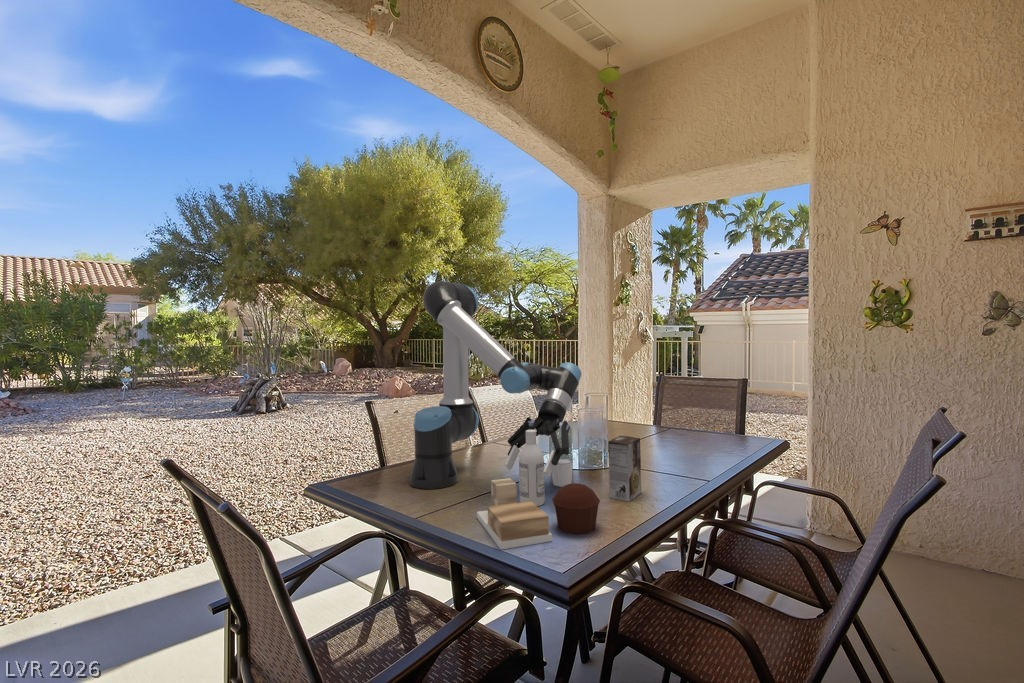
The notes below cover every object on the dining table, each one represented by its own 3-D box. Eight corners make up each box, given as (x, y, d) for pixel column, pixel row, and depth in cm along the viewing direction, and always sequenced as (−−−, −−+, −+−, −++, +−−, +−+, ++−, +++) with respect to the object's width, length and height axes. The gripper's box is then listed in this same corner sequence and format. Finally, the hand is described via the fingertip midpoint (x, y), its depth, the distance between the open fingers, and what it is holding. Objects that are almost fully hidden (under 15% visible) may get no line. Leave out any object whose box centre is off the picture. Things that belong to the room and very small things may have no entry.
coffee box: (621, 489, 143) (620, 435, 143) (642, 493, 139) (641, 437, 139) (608, 498, 136) (607, 440, 136) (630, 502, 132) (629, 443, 132)
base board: (477, 517, 122) (476, 511, 122) (521, 511, 126) (521, 505, 126) (500, 549, 104) (500, 542, 104) (551, 541, 107) (551, 534, 107)
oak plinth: (487, 523, 115) (487, 506, 115) (531, 517, 118) (530, 500, 118) (501, 541, 104) (501, 523, 104) (548, 533, 108) (548, 516, 108)
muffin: (561, 516, 123) (560, 476, 123) (604, 521, 118) (603, 480, 118) (546, 533, 112) (545, 490, 112) (593, 540, 107) (592, 495, 107)
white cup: (572, 480, 153) (572, 458, 153) (573, 487, 146) (573, 464, 146) (551, 480, 154) (550, 458, 154) (550, 487, 147) (550, 464, 147)
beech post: (491, 511, 122) (491, 480, 122) (510, 509, 124) (509, 478, 124) (497, 518, 117) (496, 485, 117) (516, 515, 119) (516, 483, 119)
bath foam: (544, 498, 136) (542, 428, 136) (545, 507, 129) (544, 432, 129) (519, 499, 136) (518, 428, 136) (519, 507, 129) (518, 433, 129)
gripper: (595, 418, 138) (570, 485, 126) (526, 412, 152) (497, 471, 140) (586, 402, 134) (559, 469, 121) (515, 397, 148) (485, 457, 136)
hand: (526, 470), depth 131 cm, fingers open, 12 cm apart
